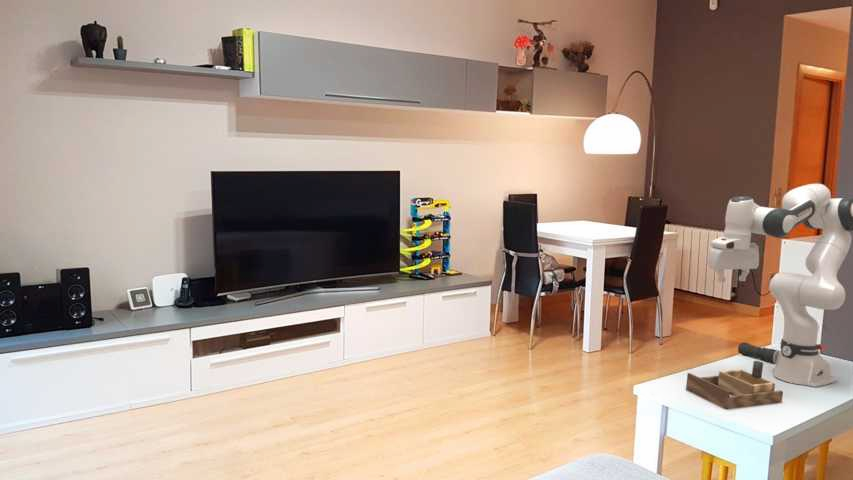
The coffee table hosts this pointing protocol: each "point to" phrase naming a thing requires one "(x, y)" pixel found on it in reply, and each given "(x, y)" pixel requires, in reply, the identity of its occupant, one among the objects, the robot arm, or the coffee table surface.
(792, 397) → the coffee table surface
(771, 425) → the coffee table surface
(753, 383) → the crate
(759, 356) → the flashlight
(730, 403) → the bay
